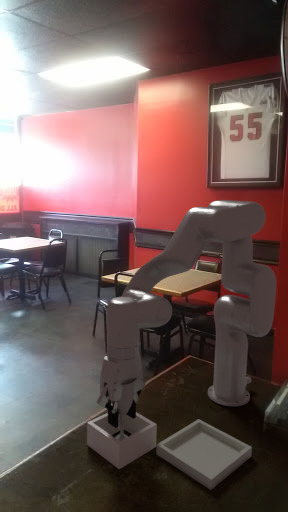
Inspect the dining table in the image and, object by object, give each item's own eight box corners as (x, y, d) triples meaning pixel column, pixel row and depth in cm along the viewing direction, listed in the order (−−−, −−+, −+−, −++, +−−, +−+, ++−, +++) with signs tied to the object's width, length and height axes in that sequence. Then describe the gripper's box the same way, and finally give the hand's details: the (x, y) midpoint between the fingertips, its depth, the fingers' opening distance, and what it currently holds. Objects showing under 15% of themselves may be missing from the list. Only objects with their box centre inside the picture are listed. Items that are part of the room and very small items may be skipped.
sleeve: (123, 425, 109) (124, 404, 108) (156, 446, 100) (156, 424, 99) (87, 444, 100) (87, 422, 99) (119, 469, 92) (119, 445, 91)
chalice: (131, 457, 96) (132, 386, 93) (103, 453, 97) (104, 382, 94) (138, 438, 103) (139, 372, 100) (112, 435, 105) (113, 369, 101)
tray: (198, 427, 109) (198, 419, 108) (251, 456, 97) (251, 447, 97) (156, 454, 97) (156, 444, 97) (210, 490, 86) (211, 479, 86)
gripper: (138, 336, 105) (136, 402, 108) (83, 354, 93) (84, 427, 96) (159, 345, 99) (157, 414, 102) (104, 365, 88) (104, 442, 91)
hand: (121, 419), depth 99 cm, fingers closed on chalice, 4 cm apart
